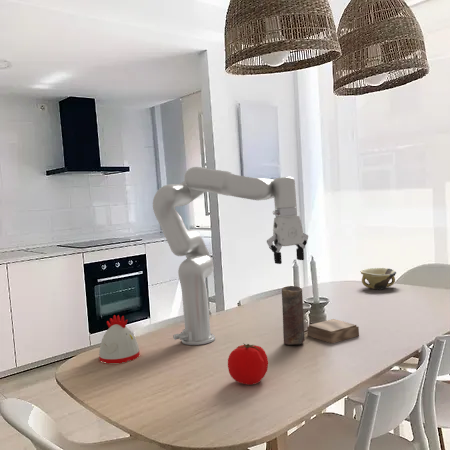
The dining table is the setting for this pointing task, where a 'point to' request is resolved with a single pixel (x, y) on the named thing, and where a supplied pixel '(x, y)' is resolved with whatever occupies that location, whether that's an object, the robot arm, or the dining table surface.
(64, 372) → the dining table surface
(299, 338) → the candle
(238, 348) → the tomato
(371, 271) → the bowl
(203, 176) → the robot arm
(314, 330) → the plinth
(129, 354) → the kitchen timer
